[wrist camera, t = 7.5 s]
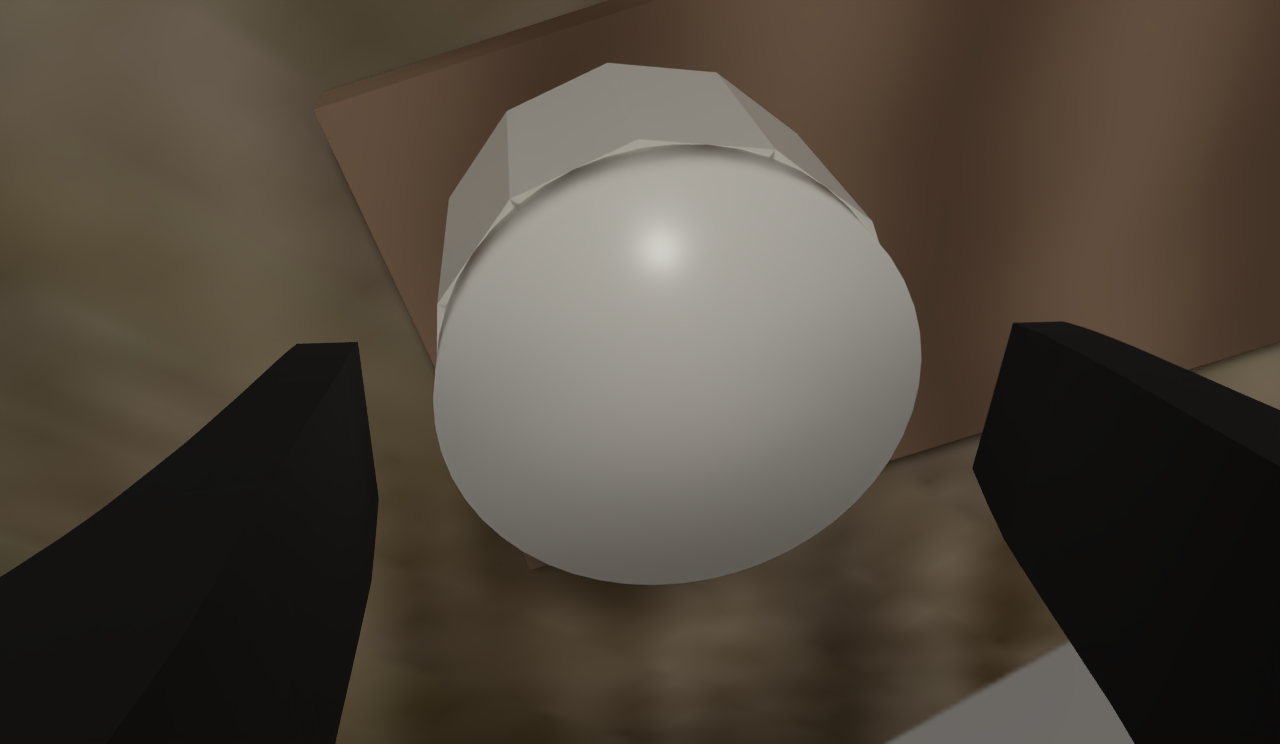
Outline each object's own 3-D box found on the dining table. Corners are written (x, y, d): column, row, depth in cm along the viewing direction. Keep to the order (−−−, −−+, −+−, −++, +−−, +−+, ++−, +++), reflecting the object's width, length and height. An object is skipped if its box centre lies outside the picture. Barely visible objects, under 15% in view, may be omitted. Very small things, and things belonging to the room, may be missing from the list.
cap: (858, 84, 13) (983, 188, 10) (781, 415, 16) (857, 583, 13) (450, 49, 12) (433, 150, 9) (446, 407, 15) (432, 587, 12)
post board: (1556, -304, 14) (2134, -359, 9) (1434, 261, 20) (1760, 421, 15) (322, 92, 15) (238, 243, 10) (528, 537, 20) (541, 785, 15)
